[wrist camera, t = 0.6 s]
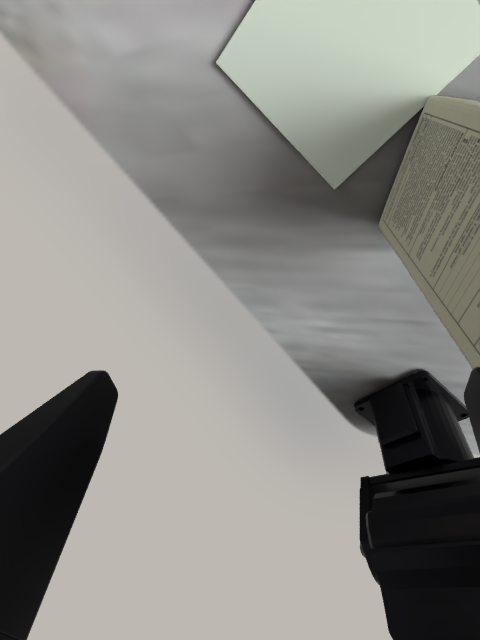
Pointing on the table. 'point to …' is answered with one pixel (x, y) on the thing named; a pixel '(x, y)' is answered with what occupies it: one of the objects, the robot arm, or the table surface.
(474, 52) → the mat
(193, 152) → the table surface
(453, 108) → the skincare box
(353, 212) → the table surface
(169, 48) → the table surface
